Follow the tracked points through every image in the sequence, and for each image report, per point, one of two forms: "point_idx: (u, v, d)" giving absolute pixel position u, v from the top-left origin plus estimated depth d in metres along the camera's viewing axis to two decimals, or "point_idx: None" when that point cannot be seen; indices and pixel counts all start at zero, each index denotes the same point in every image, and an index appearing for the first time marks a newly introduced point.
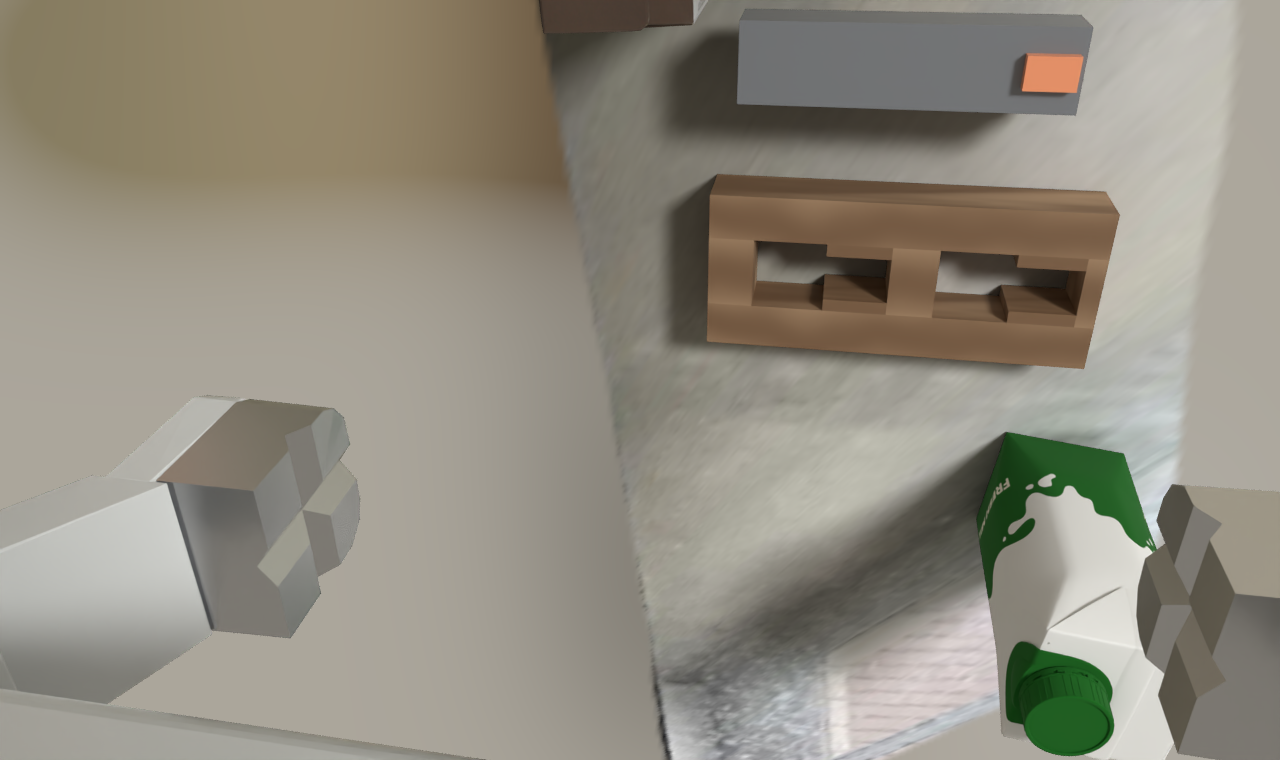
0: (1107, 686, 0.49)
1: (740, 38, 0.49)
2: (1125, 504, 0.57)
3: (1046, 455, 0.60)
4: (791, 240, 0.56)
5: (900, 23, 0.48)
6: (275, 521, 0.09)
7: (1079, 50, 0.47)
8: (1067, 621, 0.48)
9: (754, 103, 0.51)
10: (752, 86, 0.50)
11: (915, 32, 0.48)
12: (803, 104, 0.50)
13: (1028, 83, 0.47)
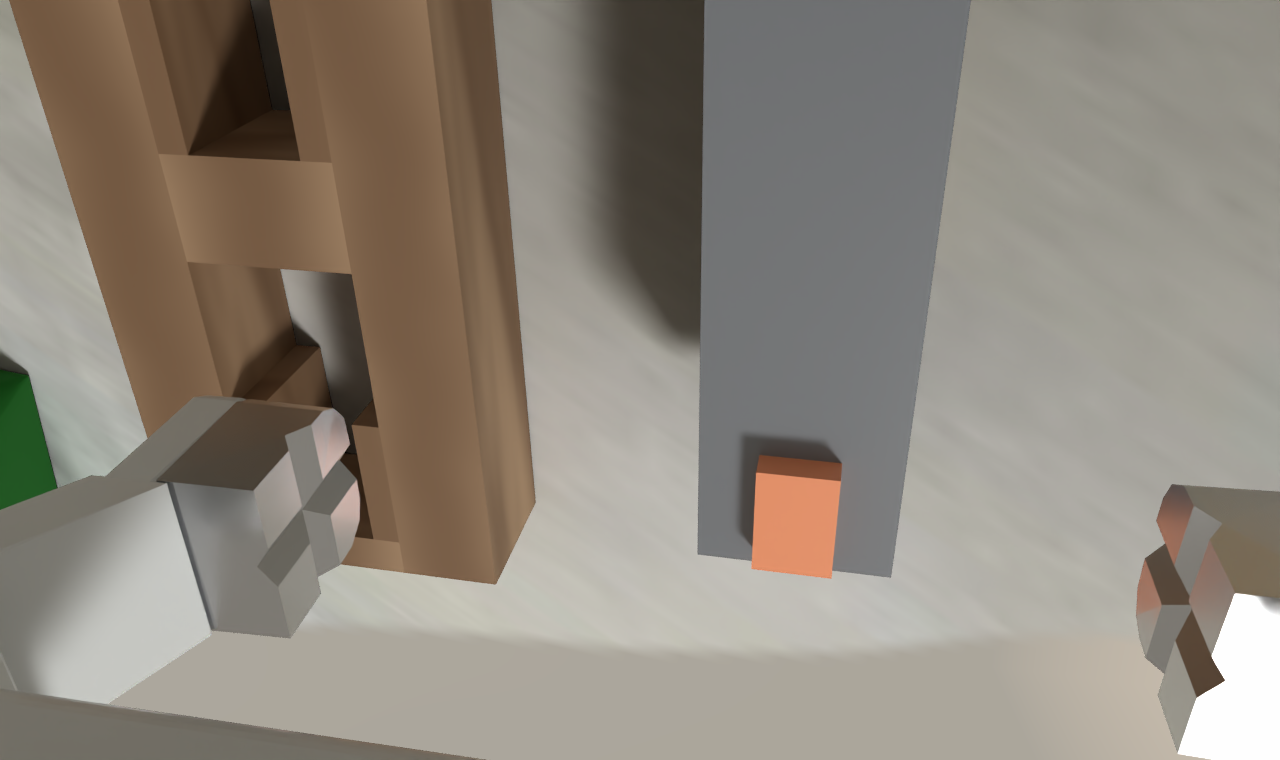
0: None
1: None
2: None
3: None
4: None
5: (944, 175, 0.17)
6: (275, 521, 0.09)
7: (841, 556, 0.21)
8: None
9: None
10: None
11: (916, 218, 0.17)
12: None
13: (774, 483, 0.20)
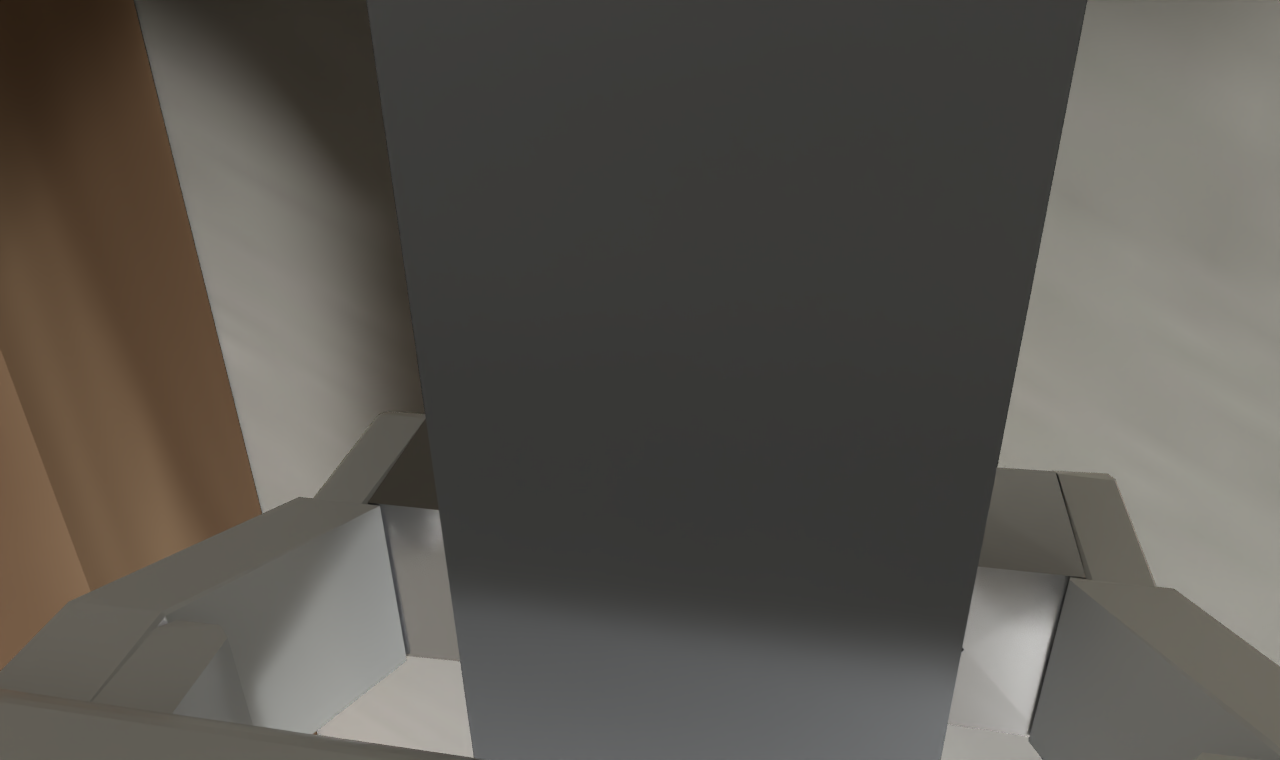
0: None
1: None
2: None
3: None
4: None
5: (956, 647, 0.08)
6: None
7: None
8: None
9: None
10: None
11: (896, 717, 0.08)
12: (389, 66, 0.06)
13: None
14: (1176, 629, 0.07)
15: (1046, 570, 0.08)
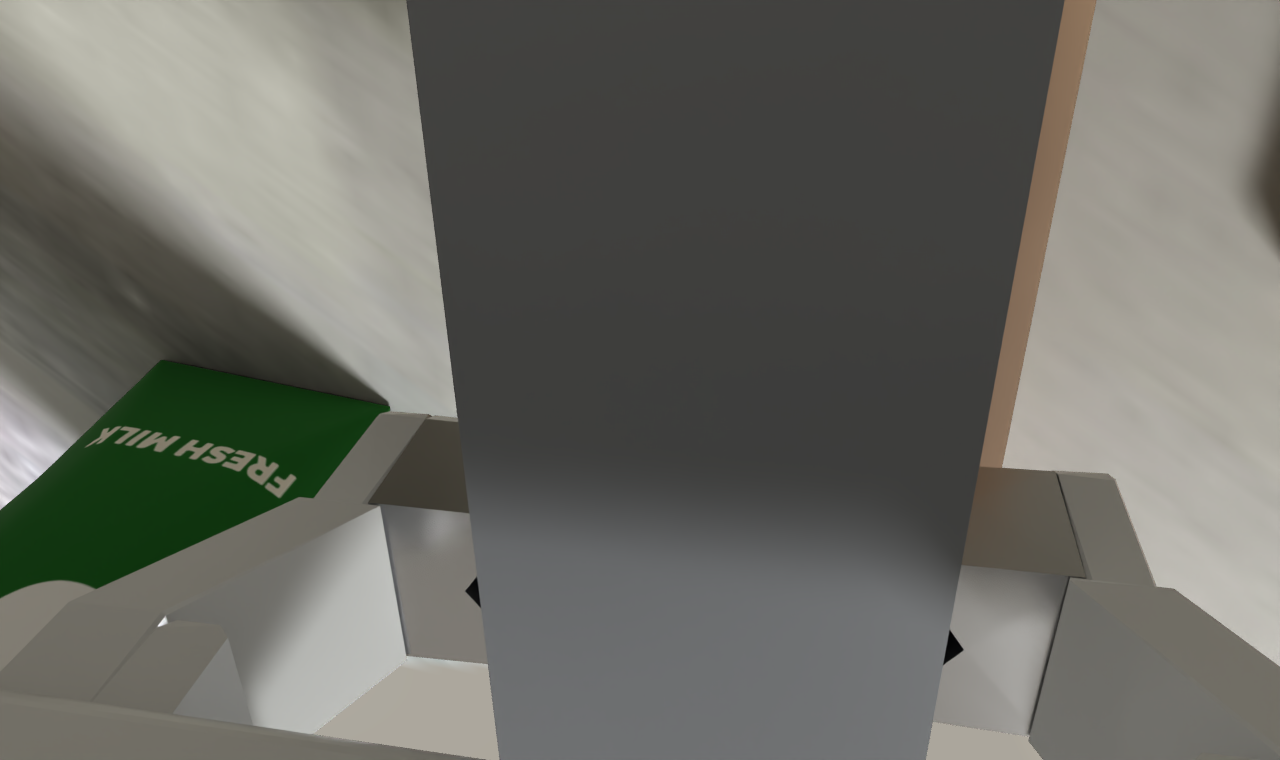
0: None
1: None
2: None
3: None
4: None
5: (948, 611, 0.08)
6: None
7: None
8: None
9: None
10: None
11: (892, 678, 0.09)
12: (428, 71, 0.07)
13: None
14: (1175, 629, 0.07)
15: (1046, 570, 0.08)
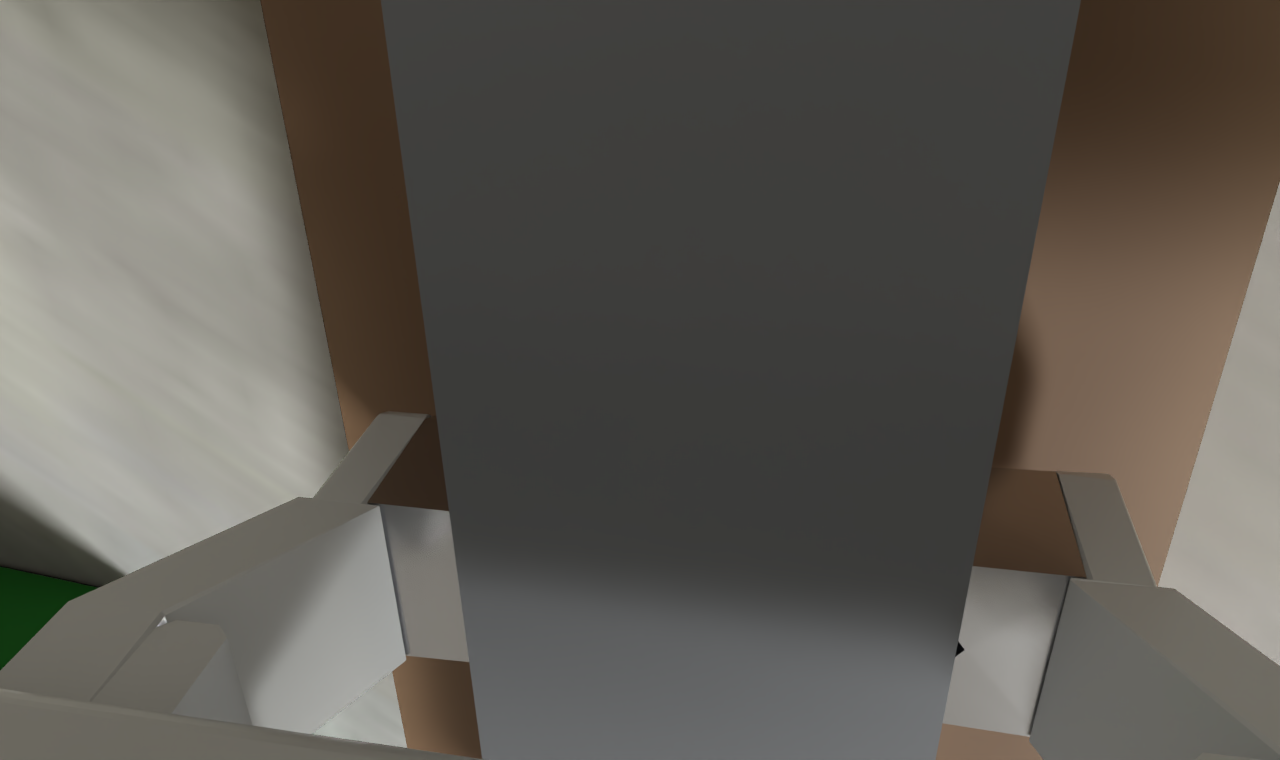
0: None
1: None
2: None
3: None
4: None
5: (964, 580, 0.08)
6: None
7: None
8: None
9: None
10: None
11: (902, 654, 0.08)
12: None
13: None
14: (1176, 629, 0.07)
15: (1046, 570, 0.08)
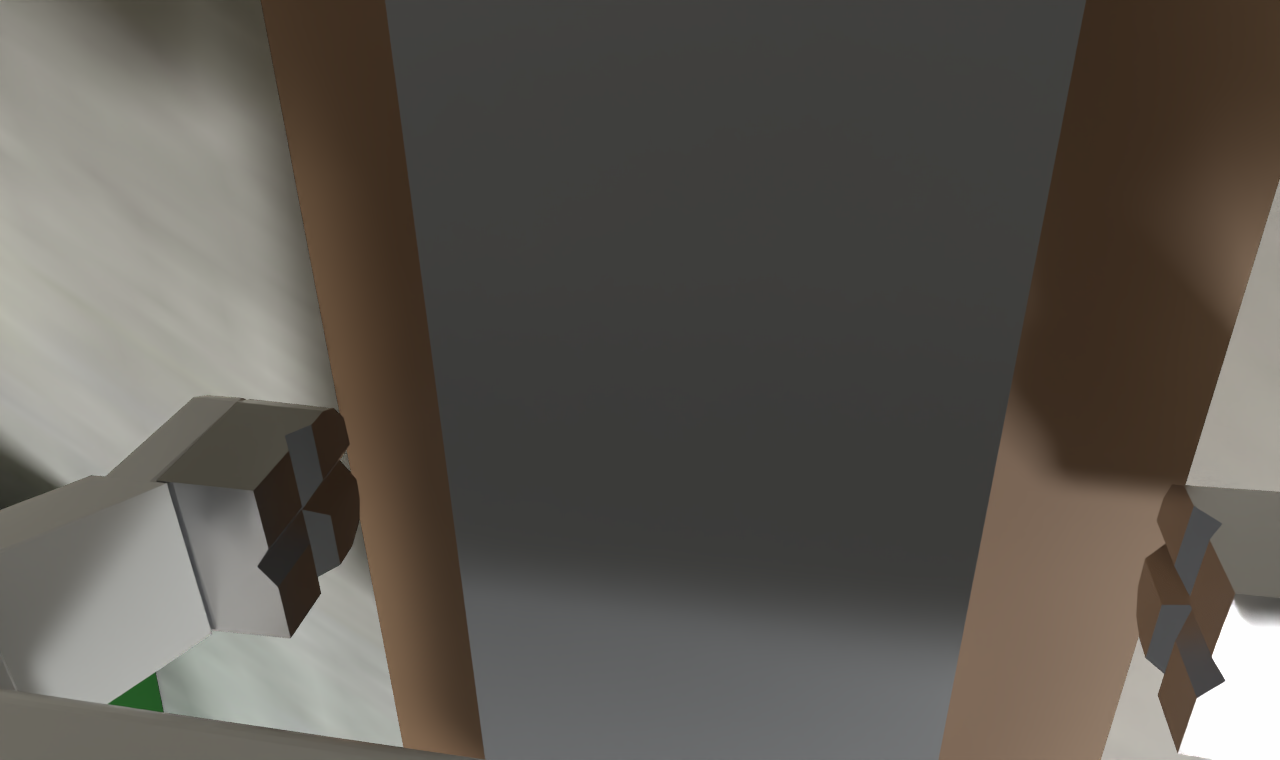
0: None
1: None
2: None
3: None
4: None
5: (974, 543, 0.07)
6: (275, 521, 0.09)
7: None
8: None
9: None
10: None
11: (911, 620, 0.08)
12: None
13: None
14: None
15: None
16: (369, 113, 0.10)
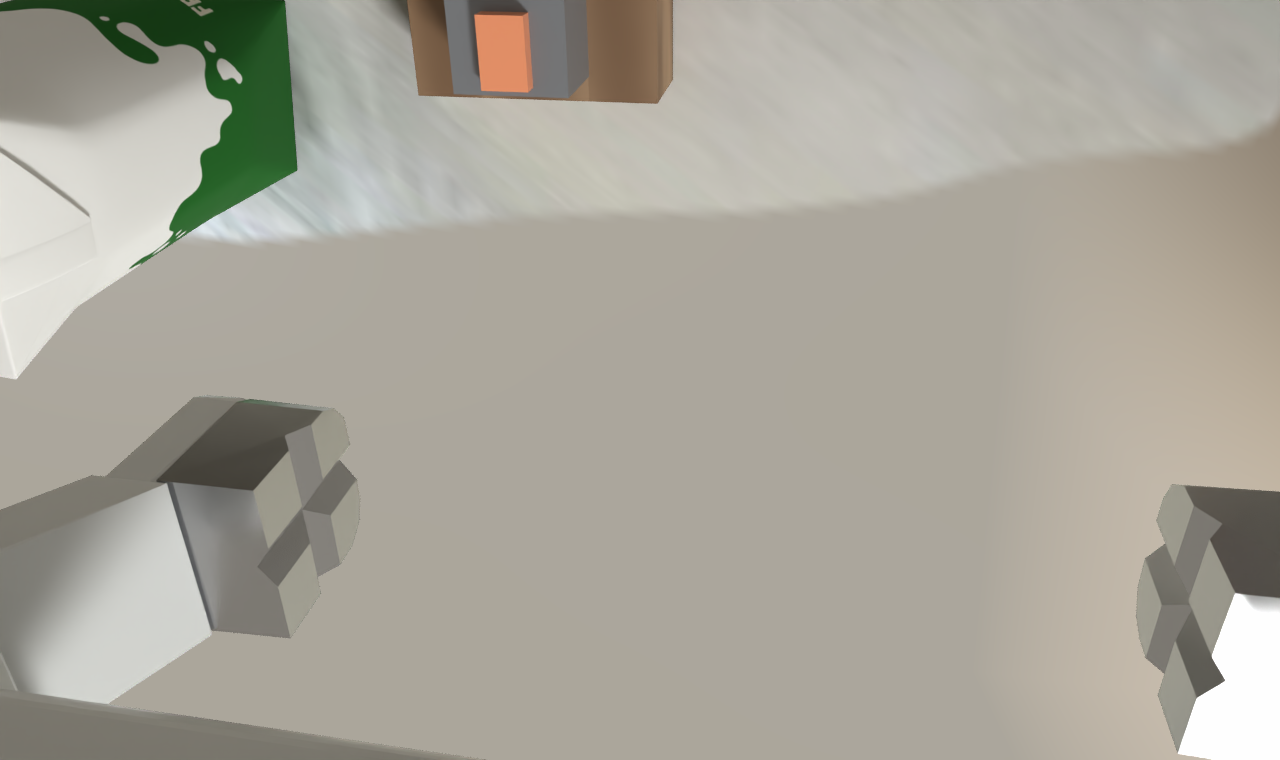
0: None
1: None
2: (227, 189, 0.38)
3: (267, 65, 0.39)
4: None
5: None
6: (275, 521, 0.09)
7: (537, 84, 0.34)
8: None
9: None
10: None
11: None
12: None
13: (485, 22, 0.32)
14: None
15: None
16: None
